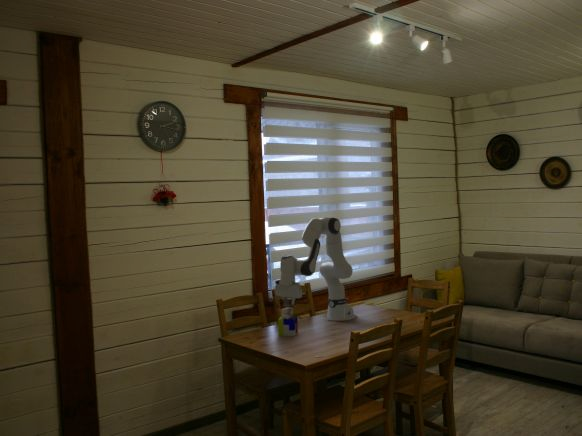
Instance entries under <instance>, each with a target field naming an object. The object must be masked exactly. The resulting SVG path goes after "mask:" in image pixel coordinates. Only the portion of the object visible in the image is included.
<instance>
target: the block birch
mask: <svg viewBox="0 0 582 436" xmlns="http://www.w3.org/2000/svg"><path fill="white" fill-rule="evenodd" d="M280 311H281V314H280V315H281V316H282V318H285V319H289V318H293V316H294V309H293V307H291V308H286V307H283V308H281V310H280Z"/></svg>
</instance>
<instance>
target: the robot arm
mask: <svg viewBox="0 0 582 436" xmlns="http://www.w3.org/2000/svg"><path fill="white" fill-rule="evenodd" d="M341 225H342V224H341V221H340V220H339V218H338V217H337V218H336V217H317V218H316V217H315V218H314V217H313V218H311V219H310V221H308V223H307V225H306V226H305V228H304V230H303V232H302V235H301V240H302V243H304V245H305V246H307V247H308V248H310V249H309V250H310V251H309V254H308V257H307V258H306V259H300V258H299V259H298V258H296V257H294V255H292V254H286V255H282V257H280V258H281V259H280V268H279V269H280V274H281V275H280V279H277V280H275V281H274V293H275V296H279V297H281V298H282V299H281V300H283V299H286V298H291V299H292V301H291V302H290V303H291V305H294V306H295V301H296V299H301V298H302V297H303V290H302V285H301V283H300V282H296V276H297V275H298V276H305V277H312V275H313V274H314V273H315V271H316V267H317V266H316V265H317V261H318V258H319V253H320V250H321V240H320V237H321V235H325V249H326V255H327V257H329V258H330V259H331V261H325V262H322V264H320V267H319V273H320V274H321V276H322V277H323V278H324V280H325V282H326V284H327V289H328V298H327V302H328V306H327V313H326V314H327V315H326V319H327V320H328V321H332V322H333V321H336V322H337V321H339V322H340V321H351V320H352V319H355V318H357V317H358V315H357V314H356V313H354V308H353V307H352V305H351V306H350V305H349V304H348V303H347V302H349V301H350V298H348V297H346V293H345V292H346V291H345V286H344V285H343V284H342V283H341V281H340V279H342V280H343V279H344V280H345V279H350V278H351V276H352V275H353V271H354V270H353V267H352V265H351V264H350V263H348V261H347V259H346V258H345V256H344V251H343V250H344V249H343V240H342V234H341V231H340V230H341Z"/></svg>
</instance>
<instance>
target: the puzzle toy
mask: <svg viewBox="0 0 582 436" xmlns="http://www.w3.org/2000/svg"><path fill="white" fill-rule="evenodd" d="M298 323H299V322H298V315H293V318H289V319H285V318H282V315H281V316H280V317H279V318H278V319H277V331H278V332H277V333H278V336H279V337H280V336H281V337H283V336H284V337H286V336H287V337H288V336H289V337H295V336H296V335H297V334H298V331H299V326H298V325H299V324H298Z"/></svg>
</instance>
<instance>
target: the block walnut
mask: <svg viewBox="0 0 582 436" xmlns="http://www.w3.org/2000/svg"><path fill="white" fill-rule="evenodd" d="M282 300H283V308H294V307H295V304H294V305H291V303H290V302H291V301H292V299H291V297H286V299H282Z"/></svg>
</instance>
